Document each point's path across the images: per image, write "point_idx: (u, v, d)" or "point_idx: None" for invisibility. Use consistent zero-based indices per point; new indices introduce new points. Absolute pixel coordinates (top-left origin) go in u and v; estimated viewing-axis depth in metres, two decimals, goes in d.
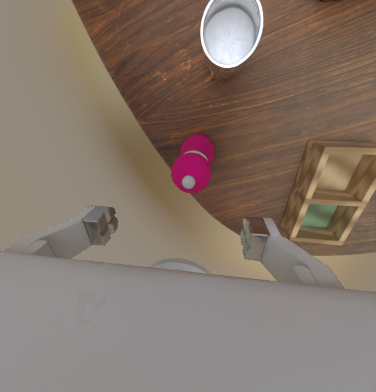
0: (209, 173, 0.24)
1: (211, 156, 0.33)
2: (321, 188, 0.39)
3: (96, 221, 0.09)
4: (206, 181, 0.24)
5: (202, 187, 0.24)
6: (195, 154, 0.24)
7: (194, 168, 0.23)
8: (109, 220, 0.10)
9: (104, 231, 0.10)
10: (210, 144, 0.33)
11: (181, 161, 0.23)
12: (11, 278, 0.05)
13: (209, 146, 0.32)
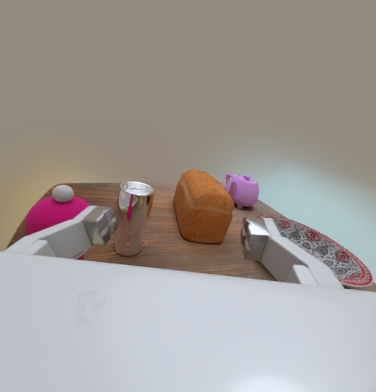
0: None
1: None
2: None
3: (96, 221, 0.09)
4: None
5: (73, 217, 0.16)
6: None
7: (78, 198, 0.19)
8: (109, 220, 0.10)
9: (104, 231, 0.10)
10: None
11: None
12: (11, 278, 0.05)
13: None
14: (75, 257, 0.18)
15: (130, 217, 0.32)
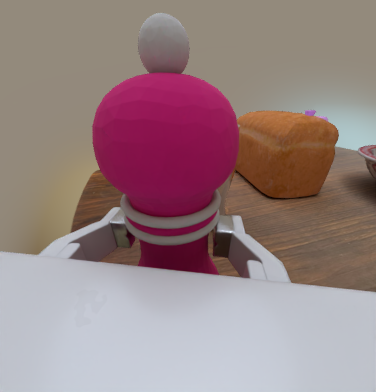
0: None
1: None
2: None
3: (124, 223, 0.09)
4: None
5: (218, 99, 0.05)
6: None
7: None
8: None
9: (130, 233, 0.10)
10: None
11: None
12: (11, 278, 0.05)
13: None
14: (213, 223, 0.08)
15: None
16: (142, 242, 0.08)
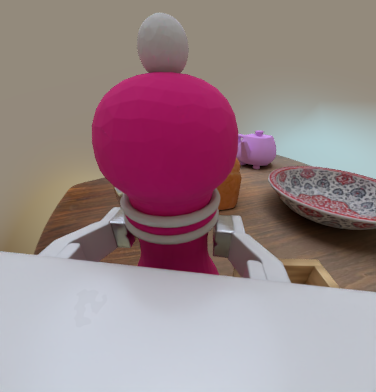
0: None
1: (217, 274, 0.12)
2: None
3: (124, 223, 0.09)
4: (227, 101, 0.06)
5: (217, 99, 0.05)
6: None
7: None
8: None
9: (130, 233, 0.10)
10: None
11: None
12: (11, 278, 0.05)
13: None
14: (212, 223, 0.08)
15: None
16: (142, 241, 0.08)
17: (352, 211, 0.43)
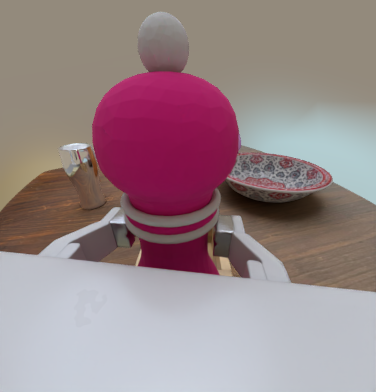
0: None
1: (218, 274, 0.12)
2: None
3: (124, 223, 0.09)
4: (228, 100, 0.06)
5: (217, 98, 0.05)
6: None
7: None
8: None
9: (130, 233, 0.10)
10: None
11: None
12: (11, 278, 0.05)
13: None
14: (212, 222, 0.08)
15: (74, 172, 0.37)
16: (142, 241, 0.08)
17: None
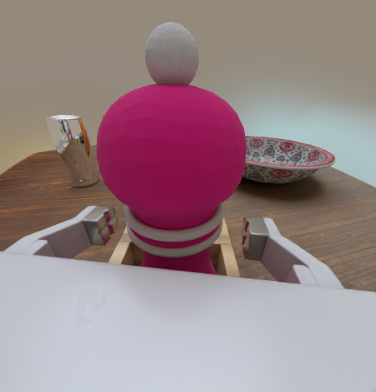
0: None
1: None
2: None
3: (96, 220, 0.09)
4: (237, 115, 0.06)
5: (228, 115, 0.05)
6: None
7: None
8: (109, 220, 0.10)
9: (104, 231, 0.10)
10: None
11: None
12: (11, 278, 0.05)
13: None
14: (216, 234, 0.08)
15: (63, 145, 0.35)
16: (145, 251, 0.08)
17: None
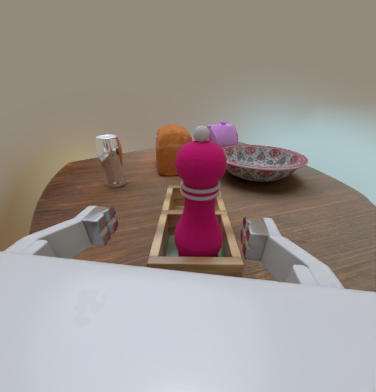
0: None
1: None
2: None
3: (96, 220, 0.09)
4: (222, 150, 0.19)
5: (219, 151, 0.18)
6: None
7: None
8: (109, 220, 0.10)
9: (104, 231, 0.10)
10: None
11: None
12: (11, 278, 0.05)
13: None
14: (217, 193, 0.20)
15: (105, 156, 0.48)
16: (188, 202, 0.21)
17: None
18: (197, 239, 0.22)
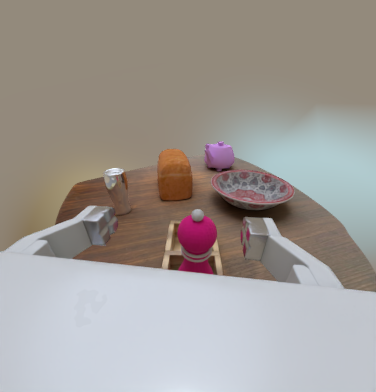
0: (214, 225, 0.26)
1: (212, 271, 0.30)
2: None
3: (96, 221, 0.09)
4: (213, 226, 0.24)
5: (210, 230, 0.24)
6: None
7: None
8: (109, 221, 0.10)
9: (104, 231, 0.10)
10: None
11: None
12: (11, 278, 0.05)
13: None
14: (209, 255, 0.26)
15: (113, 189, 0.54)
16: (187, 260, 0.27)
17: (264, 200, 0.65)
18: None
